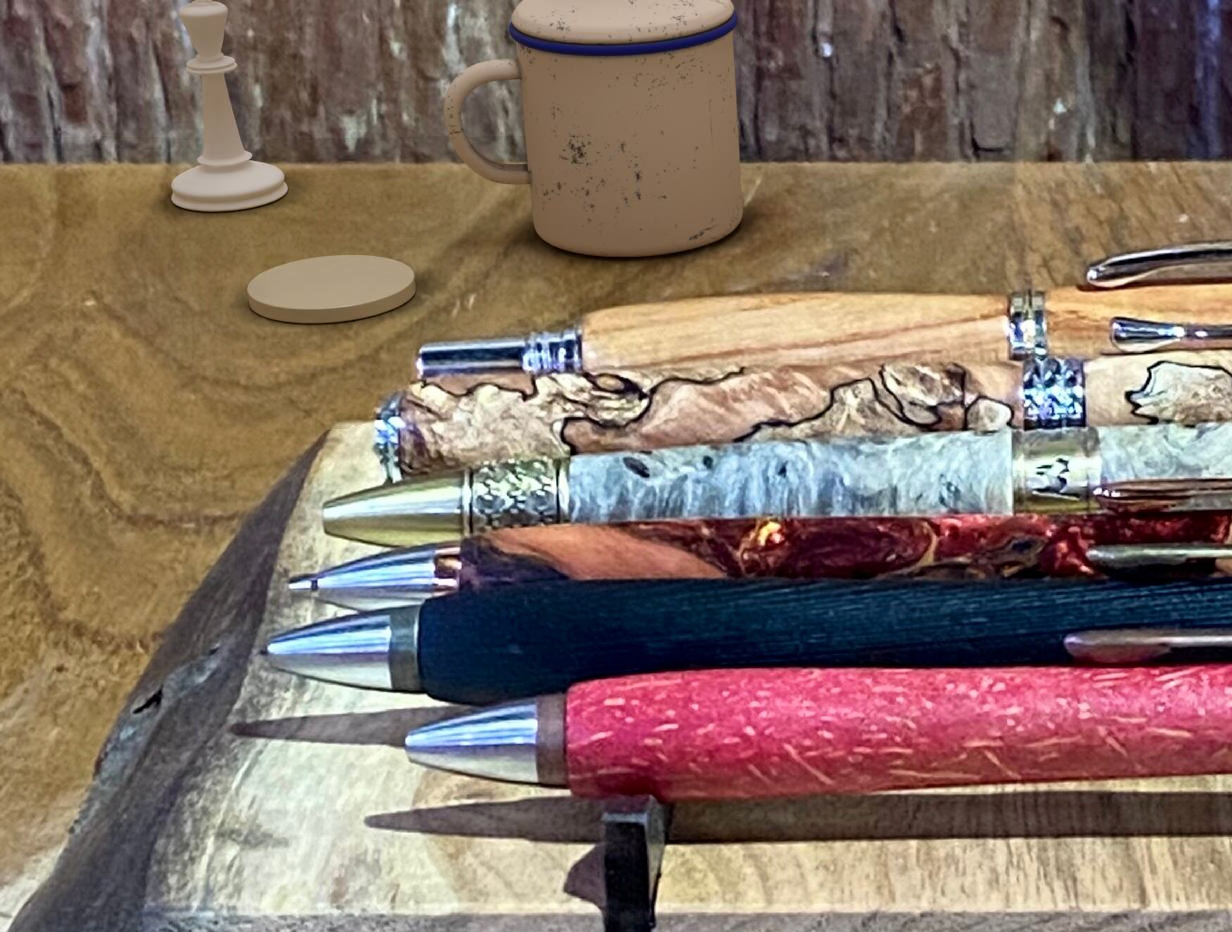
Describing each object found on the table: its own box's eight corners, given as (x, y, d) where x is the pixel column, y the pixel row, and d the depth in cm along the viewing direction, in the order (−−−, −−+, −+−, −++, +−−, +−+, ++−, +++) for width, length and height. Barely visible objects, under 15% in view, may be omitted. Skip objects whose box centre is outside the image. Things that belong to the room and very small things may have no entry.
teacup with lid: (727, 185, 116) (711, -91, 111) (768, 249, 108) (752, -45, 103) (448, 212, 114) (417, -69, 108) (468, 279, 106) (436, -20, 100)
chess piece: (179, 181, 119) (144, -49, 114) (293, 175, 119) (262, -55, 114) (164, 214, 114) (126, -23, 110) (282, 208, 115) (249, -29, 110)
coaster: (230, 324, 102) (227, 309, 102) (271, 269, 107) (270, 255, 107) (397, 322, 102) (395, 307, 101) (430, 268, 107) (429, 253, 107)
